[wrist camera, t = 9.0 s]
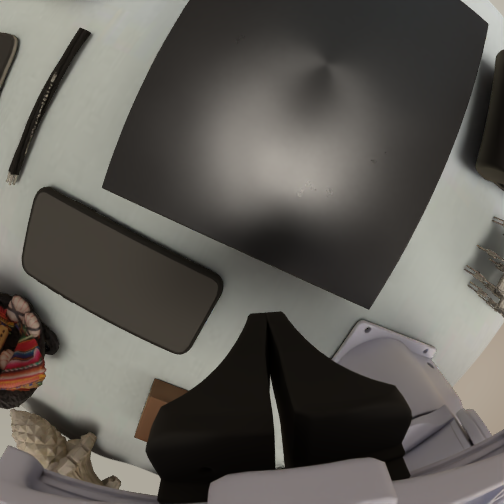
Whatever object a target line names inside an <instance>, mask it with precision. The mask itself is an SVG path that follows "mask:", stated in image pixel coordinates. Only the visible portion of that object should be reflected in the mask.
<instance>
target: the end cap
mask: <svg viewBox="0 0 504 504" xmlns="http://www.w3.org/2000/svg"><path fill="white" fill-rule="evenodd" d="M475 166H476V170H477V172H478V173H479V174H480V175H481V176H482V177H483V178H484V179H485V180H488V181H492V182H494V183H495V184H496V185H497V186H499V187H500V188H501V189H502V190H504V50H502V51H500V52H499V53H498V54H497V56H496V61H495V70H494V78H493V86H492V92H491V98H490V104H489V110H488V115H487V120H486V124H485V129H484V134H483V138H482V142H481V146H480V150H479V154H478V157H477V161H476V165H475Z"/></svg>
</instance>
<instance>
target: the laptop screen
mask: <svg viewBox="0 0 504 504" xmlns="http://www.w3.org/2000/svg"><path fill="white" fill-rule="evenodd" d="M488 25H489V24H488V23H487V22H486V21H485V20H483V19H482V18H481V17H480V16H479V15H478V14H477V13H475V12H474V11H473V10H472V9H471V8H469V7H468V6H467V5H466V4H464V3H463V2H462V1H461V0H189V2H188V3H187V5H186V6H185V8H184V9H183V11H182V13H181V14H180V16H179V18H178V19H177V21H176V22H175V24H174V26H173V27H172V29H171V31H170V33H169V34H168V36H167V38H166V40H165V41H164V43H163V45H162V47H161V49H160V50H159V52H158V54H157V56H156V58H155V60H154V62H153V64H152V66H151V68H150V70H149V72H148V74H147V76H146V78H145V80H144V82H143V84H142V86H141V88H140V90H139V92H138V95H137V97H136V99H135V101H134V103H133V106H132V108H131V110H130V113H129V115H128V117H127V120H126V122H125V125H124V127H123V130H122V132H121V135H120V137H119V140H118V142H117V145H116V148H115V150H114V153H113V156H112V159H111V161H110V164H109V167H108V170H107V173H106V176H105V179H104V182H103V185H102V188H103V189H105V190H108V191H110V192H112V193H114V194H116V195H118V196H121V197H123V198H125V199H127V200H129V201H131V202H134V203H136V204H138V205H140V206H142V207H144V208H147V209H149V210H151V211H153V212H155V213H157V214H160V215H162V216H164V217H166V218H168V219H170V220H173V221H175V222H177V223H179V224H181V225H184V226H186V227H188V228H190V229H192V230H194V231H197V232H199V233H201V234H203V235H205V236H208V237H210V238H212V239H214V240H216V241H218V242H221V243H223V244H225V245H227V246H229V247H232V248H234V249H236V250H238V251H240V252H243V253H245V254H247V255H249V256H251V257H254V258H256V259H258V260H260V261H262V262H265V263H267V264H269V265H271V266H273V267H276V268H278V269H280V270H282V271H284V272H287V273H289V274H291V275H293V276H295V277H298V278H300V279H302V280H304V281H306V282H309V283H311V284H313V285H315V286H317V287H320V288H322V289H324V290H326V291H328V292H331V293H333V294H335V295H337V296H340V297H342V298H344V299H346V300H348V301H351V302H353V303H355V304H357V305H360V306H362V307H364V308H366V309H370V307H371V306H372V304H373V303H374V301H375V299H376V298H377V296H378V295H379V293H380V291H381V290H382V288H383V286H384V285H385V283H386V281H387V280H388V278H389V276H390V275H391V273H392V271H393V269H394V268H395V266H396V264H397V262H398V261H399V259H400V257H401V255H402V253H403V252H404V250H405V248H406V246H407V244H408V242H409V241H410V239H411V237H412V235H413V233H414V231H415V229H416V227H417V225H418V223H419V221H420V219H421V217H422V215H423V213H424V211H425V209H426V207H427V205H428V203H429V201H430V199H431V196H432V194H433V192H434V190H435V188H436V185H437V183H438V181H439V179H440V176H441V174H442V172H443V169H444V167H445V165H446V162H447V160H448V157H449V155H450V152H451V150H452V147H453V145H454V142H455V140H456V137H457V134H458V132H459V129H460V126H461V123H462V120H463V118H464V115H465V112H466V109H467V106H468V103H469V99H470V96H471V93H472V90H473V86H474V83H475V80H476V76H477V72H478V69H479V65H480V61H481V57H482V53H483V48H484V44H485V39H486V35H487V30H488Z"/></svg>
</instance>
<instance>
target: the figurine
mask: <svg viewBox="0 0 504 504" xmlns="http://www.w3.org/2000/svg"><path fill="white" fill-rule="evenodd" d="M45 342H46V344H47V345H48V347H49V348H48V349H46V348H45ZM58 350H59V342H58V339H57V337H56V335H55V334H54V333H53V332H52V331H51V330H50V329H49V328H48V327H47V326H46V325H45V324H44V323H43V322H42V321H41V320H40V318H39V316H38V315H37V314H36V313H35V312H34V310H33V307H32V305H31V304H30V303H29V302H28V301H27V300H26V299H25V298H24V297H22V296H21V295H17V294H15V295H13V297H12V296H10V295H8V294H4V293H0V408H4V409H10V408H14V407H19V406H20V405H21V404H22V403H24V402H25V401H26V400H27V399H28V398H29V397H31V396H32V394H33V393H34V391H35V390H36V389H37V387H39V386H41V385H42V381H43V380H44V379H45V377H46V375H45V373H44V372H45V371H46V369H45V368H44V365H45V361H44V356H45V354H48V355H54V354H55V353H56V352H57V351H58Z"/></svg>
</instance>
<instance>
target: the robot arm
mask: <svg viewBox="0 0 504 504" xmlns="http://www.w3.org/2000/svg"><path fill="white" fill-rule="evenodd" d="M367 327H369V329H368V330H365V329H366V328H367ZM435 354H436V349H435V348H434V347H433V346H430V345H427V344H425V343H422V342H420V341H417V340H414V339H412V338H409V337H406V336H404V335H401V334H399V333H396V332H393V331H391V330H388V329H386V328H383V327H381V326H378V325H375V324H373V323H370V322H368V321H365V320H361V321H359V322H358V323H357V324H356V325H355V327H354V328H353V330H352V331H351V333H350V334H349V335H348V337H347V338H346V340H345V341H344V343H343V344H342V346H341V347H340V348H339V350H338V351H337V353H336V354H335V355H334V357H333V358H332V360H331V359H330V358H328V357H327V356H325V355H324V354H322V353H321V352H320V351H319V350H317V349H316V348H315V347H314V346H313V345H312V344H310V343H309V342H308V341H307V340H306V339H305V338H304V337H303V336H302V335H301V334H300V333H299V332H298V331H297V329H296V328H295V327H294V326H293V325H292V324H291V322H290V321H289V320H288V319H287V317H286V316H285V314H284V313H283V312H282V311H280V312H267V313H253V314H250V315H249V316H248V318H247V321H246V324H245V326H244V328H243V330H242V332H241V334H240V336H239V338H238V340H237V341H236V343H235V345H234V346H233V347H232V349H231V350H230V352H229V353H228V355H227V356H226V357H225V359H224V360H223V361H222V362H221V363H220V364H219V366H218V367H217V368H216V369H215V370H214V371H213V372H212V373H211V374H210V375H209V376H208V377H207V378H206V379H204V380H203V381H202V382H201V383H200V384H198V385H197V386H196V387H194V388H193V389H191V390H190V391H188V392H187V393H185V394H184V395H182V396H180V397H178V398H177V399H175V400H173V401H171V402H169V403H167V404H165V405H163V406H161V407H160V409H159V412H158V414H157V416H156V418H155V420H154V422H153V424H152V427H151V430H150V433H149V437H148V441H147V445H146V453H147V456H148V458H149V460H150V462H151V463H152V465H153V467H154V468H155V470H156V472H157V473H158V475H159V476H160V478H161V482H160V487H159V492H158V496H154V495H148V494H141V493H134V492H129V491H124V490H119V489H114V488H110V487H105V486H101V485H97V484H93V483H89V482H85V481H82V480H78V479H75V478H71V477H68V476H65V475H62V474H59V473H56V472H53V471H50V470H47V469H44V468H43V466H42V465H41V463H40V462H39V461H38V460H37V459H36V458H35V457H34V456H32V455H31V454H29V453H27V452H24V451H22V450H19V449H17V448H14V447H12V446H7V448H6V450H5V452H4V453H3V455H2V457H1V459H0V504H504V430H502V431H500V432H498V433H497V434H495V435H493V436H492V435H491V433H490V431H489V430H488V429H487V427H486V426H485V424H484V423H483V421H482V420H481V418H480V417H479V416H478V414H477V413H476V412H475V411H474V410H472V409H467V410H465V409H464V408H463V407H462V403H461V400H460V398H459V396H458V395H457V394H456V392H455V391H454V390H453V388H452V387H451V385H450V384H449V383H448V381H447V380H446V378H445V377H444V376H443V374H442V373H441V372H440V370H439V369H438V368H437V366H436V365H435V364H434V362H433V361H432V360H431V359H432V358H433V357H434V355H435ZM270 377H271V381H272V386H273V390H274V395H275V399H276V404H277V409H278V413H279V418H280V424H281V433H282V443H283V453H284V463H285V469H278V470H275V438H274V424H273V414H272V407H271V400H270V393H269V391H270Z"/></svg>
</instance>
